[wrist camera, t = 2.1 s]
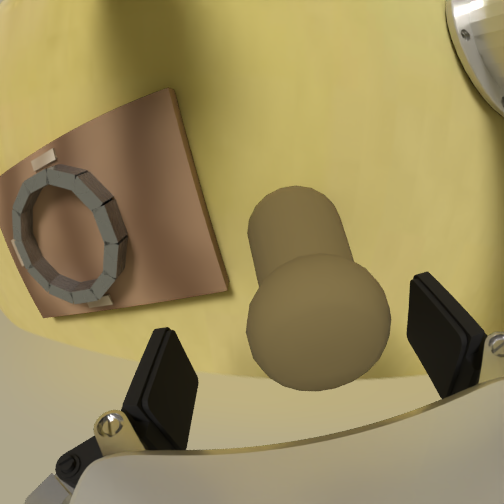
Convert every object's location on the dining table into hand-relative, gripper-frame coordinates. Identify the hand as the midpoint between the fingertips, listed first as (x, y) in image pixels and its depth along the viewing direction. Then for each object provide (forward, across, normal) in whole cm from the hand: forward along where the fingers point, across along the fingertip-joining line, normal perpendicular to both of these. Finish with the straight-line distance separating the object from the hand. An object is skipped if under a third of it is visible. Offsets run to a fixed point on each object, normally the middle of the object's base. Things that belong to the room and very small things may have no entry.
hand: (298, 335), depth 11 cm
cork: (+9, -1, -1) cm, 9 cm away
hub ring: (+8, +14, -5) cm, 17 cm away
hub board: (+9, +13, -5) cm, 17 cm away
